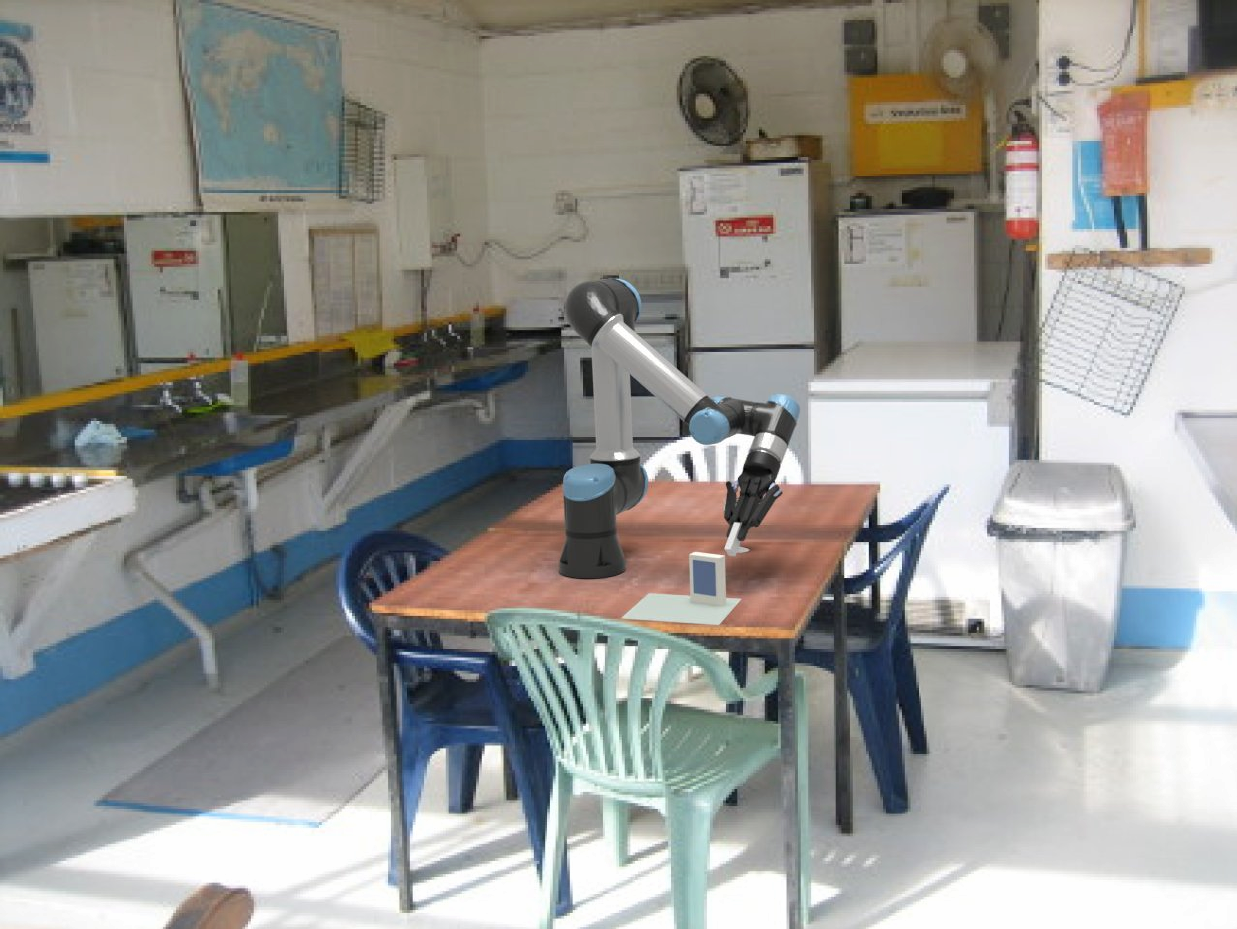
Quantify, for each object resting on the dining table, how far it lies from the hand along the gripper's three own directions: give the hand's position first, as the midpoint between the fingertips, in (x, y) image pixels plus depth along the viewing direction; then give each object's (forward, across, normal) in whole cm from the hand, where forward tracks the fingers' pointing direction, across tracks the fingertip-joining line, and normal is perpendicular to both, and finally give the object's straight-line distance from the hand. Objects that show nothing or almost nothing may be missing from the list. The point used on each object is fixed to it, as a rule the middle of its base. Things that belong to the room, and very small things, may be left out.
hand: (729, 552), depth 275 cm
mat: (+16, +4, +3) cm, 17 cm away
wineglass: (-18, +17, -31) cm, 40 cm away
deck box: (+12, +1, -1) cm, 12 cm away
